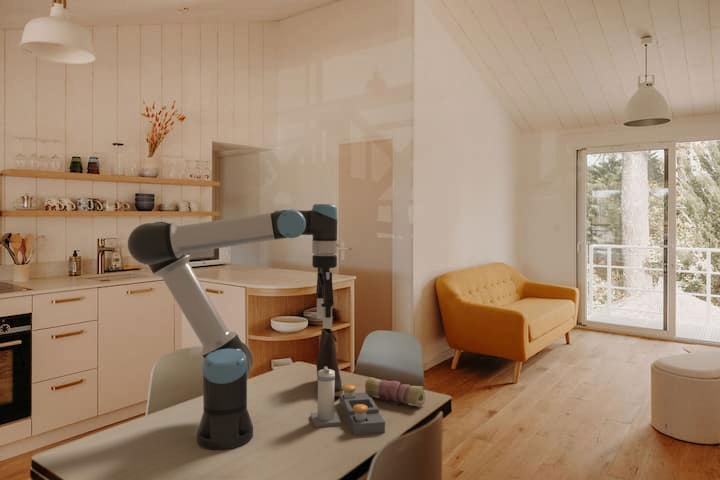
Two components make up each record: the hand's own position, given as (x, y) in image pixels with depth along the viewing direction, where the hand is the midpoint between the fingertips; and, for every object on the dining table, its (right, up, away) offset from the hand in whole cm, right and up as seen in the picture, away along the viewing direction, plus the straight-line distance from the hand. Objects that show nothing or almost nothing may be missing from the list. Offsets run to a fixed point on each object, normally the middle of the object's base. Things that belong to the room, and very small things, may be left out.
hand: (324, 323), depth 154 cm
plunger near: (+11, -28, -9) cm, 31 cm away
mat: (+1, -29, -3) cm, 29 cm away
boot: (0, -28, +24) cm, 37 cm away
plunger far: (+7, -27, +8) cm, 29 cm away
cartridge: (+1, -28, -3) cm, 28 cm away
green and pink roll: (+23, -29, +13) cm, 39 cm away
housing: (+11, -29, 0) cm, 31 cm away
